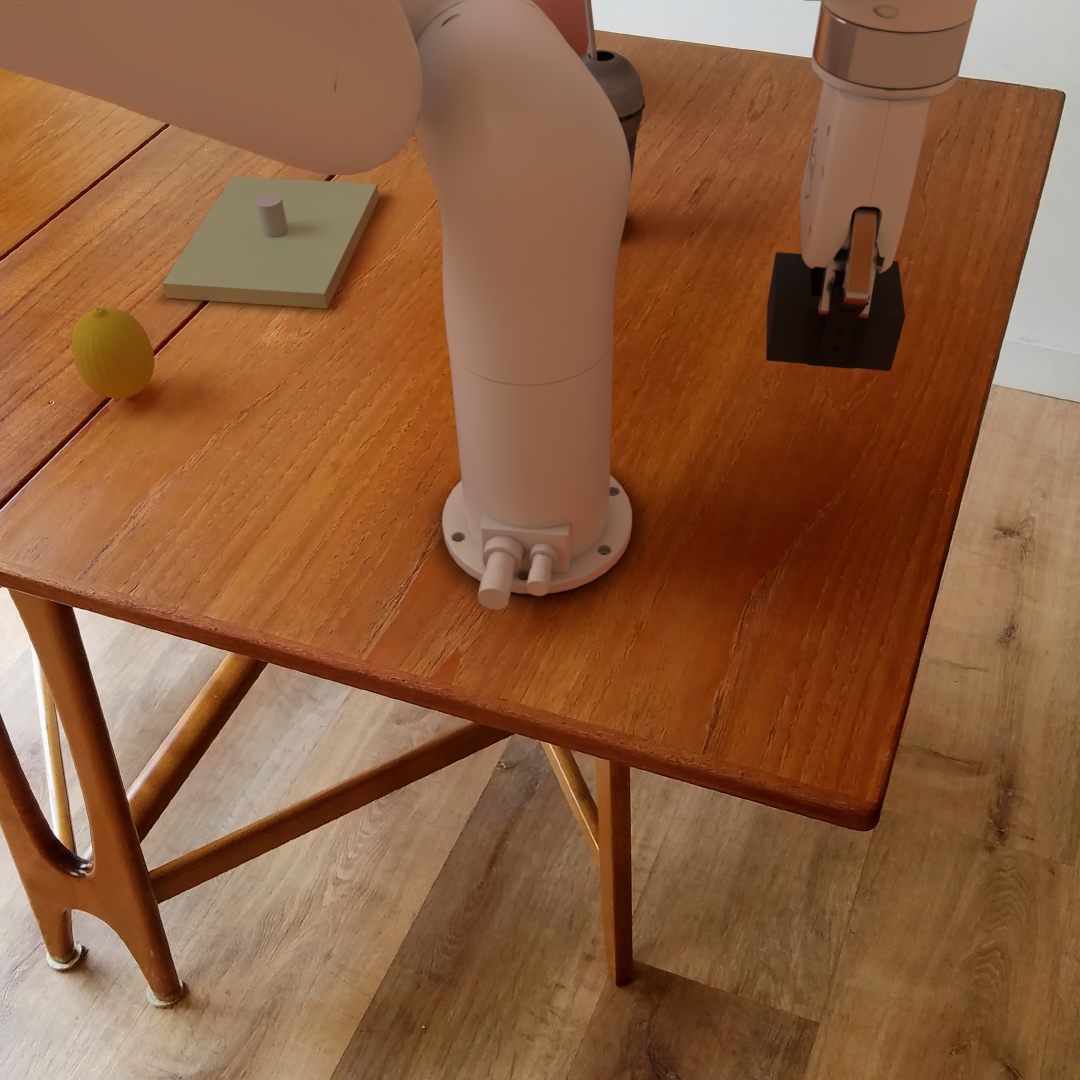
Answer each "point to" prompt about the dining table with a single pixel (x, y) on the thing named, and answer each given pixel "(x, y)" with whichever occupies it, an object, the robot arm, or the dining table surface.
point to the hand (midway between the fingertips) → (828, 329)
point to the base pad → (274, 242)
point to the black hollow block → (802, 289)
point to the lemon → (112, 352)
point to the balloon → (568, 21)
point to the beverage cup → (616, 85)
